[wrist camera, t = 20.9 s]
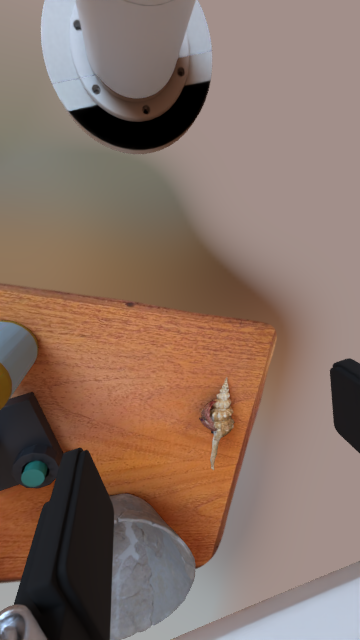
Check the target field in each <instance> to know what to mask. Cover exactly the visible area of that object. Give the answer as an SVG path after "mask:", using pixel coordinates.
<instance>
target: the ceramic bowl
mask: <svg viewBox="0 0 360 640" xmlns="http://www.w3.org/2000/svg"><path fill="white" fill-rule="evenodd" d="M109 497H110V499H111V501H112V504H113V508H114V537H113V566H112V595H111V624H110V640H121V639H124V638H127V637H130V636H131V635H134V634H135V633H137V632H142V631H145V630H146V629H148V628H150V627H151V625H156V624H157V623H159V622H161V621H162V620H164V619H165V618H167V617H168V616H169V615H170V614H172V613H173V612H174V611H175V610H176V609H177V608H178V606H180V604H181V603H182V602H183V601H184V600H185V598H186V596H187V594H188V592H189V591H190V588H191V586H192V583H193V581H194V577H195V565H196V564H195V559H194V557H193V555H192V553H191V551H190V549H189V548H188V546H187V545H186V544H185V543H184V541H183V540H182V539H181V538H180V537H179V536H178V535H177V534H176V533H175V531H174V530H173V529H172V528H171V527H169V526H168V525H167V524H166V523H165V522H164V520H163V519H162V518H161V517H160V516H159V515H158V513H157V512H156V511H155V510H154V508H153V507H152V506H151V505H149V504H148V503H147V502H146V501H144V500H143V499H141V498H139V497H137V496H134V495H132V494H128V493H127V494H118V495H113V496H112V495H111V496H109Z"/></svg>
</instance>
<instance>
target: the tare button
mask: <svg viewBox="0 0 360 640" xmlns="http://www.w3.org/2000/svg"><path fill="white" fill-rule="evenodd" d="M46 473H47V465H46V464H45V463H44V462H42V461H32V462H30V463H28V464H27V465H26V467H25V469H24V471H23V474H22V476H21V481H22V483H23V484H24V485H26V486H29V487H36V486H39V485H40V484H42V483H43V481H44V479H45V476H46Z"/></svg>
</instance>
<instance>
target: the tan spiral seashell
mask: <svg viewBox="0 0 360 640" xmlns="http://www.w3.org/2000/svg"><path fill="white" fill-rule="evenodd" d="M229 397H230V394H229V388H228V381H227V378H226V380H225V382H224V383H223V386H222V389H220V393H219V394H217V399H216V400H212V402H210V403H207V404H206V406H205V407H204V408H203V410H202V412H201V414H202V419H201V418H199V419H200V420H201V422H202V423H203V425H204V426H206V427H207V428H208V429H210V430H211V433H213V434H214V436H213V440H212V452H211V459H210V462H211V468H212V469H213V470H214V461H215V458H216V455H217V449H218V444H219V440H220V438H222V437H224V436H225V435H227V434H228V433H229V432H230V431H231V429H232V428H233V427H234V426H233V424H234V420H233V419H232V417H231V415H232V413H233V410H232V409H231V406H230V404H231V400H230V398H229ZM212 406H214V408H212Z"/></svg>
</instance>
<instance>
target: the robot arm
mask: <svg viewBox="0 0 360 640" xmlns="http://www.w3.org/2000/svg"><path fill="white" fill-rule="evenodd" d="M75 1H76V3H75V5H74V8H73V12H72V15H71V19H70V28H69V42H70V51H71V55H72V60H73V63H74V67H75V70H76V73H77V75H78V77H79V79H80V81H81V83H82V85H83V87H84V88H85V90H86V91H87V93H88V94H89V96H90V97H91V98H92V99H93V100H94V101H95V102H96V103H97V104H98V105H99V106H100V107H101V108H103V109H104V110H105V111H106V112H108V113H109V114H111V115H113V116H115V117H117V118H120V119H123V120H127V121H135V122H142V121H148V120H151V119H154V118H156V117H159V116H160V115H162V114H163V113H165V112H166V111H168V110H169V108H170V107H171V106H172V105H173V104H174V103H175V102H176V100H177V98H178V97H179V95H180V94H181V91H182V89H183V87H184V84H185V81H186V78H187V75H188V68H189V60H190V57H189V43H188V37H187V32H186V30H187V27H188V24H189V20H190V17H191V14H192V11H193V8H194V4H195V1H196V0H75ZM77 29H81V30H80V31H77ZM178 73H179V74H181V76H179V75H178ZM95 91H98V92H99V94H95ZM145 110H146V111H147V112H148V114H144V111H145ZM330 377H331V391H332V404H333V416H334V417H333V418H334V426H335V428H336V430H337V432H338V433H339V434H340V435H341V436H342V437H343V438H344V439H345V440H346V441H347V442H348V443H349V444H351V445H352V447H354V448H355V449H356V450H357V451H358V452H359V453H360V364H359V363H358V362H356V361H354V360H352V359H345V360H342V361H339V362H336V363H334V364H333V368H331V370H330ZM113 537H114V508H113V504H112V501H111V499H110V497H109V495H108V493H107V490H106V488H105V486H104V484H103V482H102V479H101V477H100V475H99V473H98V471H97V468H96V466H95V464H94V462H93V460H92V457H91V455H90V453H89V451H88V450H85V451H83V449H82V448H77V449H74V450H71V451H68V452H65V453H64V454H63V456H62V459H61V462H60V466H59V470H58V473H57V477H56V481H55V484H54V488H53V492H52V495H51V499H50V501H49V502H46V503H45V505H44V506H43V508H42V511H41V514H40V518H39V521H38V524H37V528H36V531H35V535H34V538H33V541H32V545H31V548H30V552H29V555H28V558H27V562H26V565H25V568H24V572H23V575H22V579H21V582H20V585H19V589H18V592H17V596H16V599H15V602H14V605H13V606H9V607H7V608H5V609H4V610H2V611H1V612H0V640H110V624H111V595H112V566H113ZM171 640H360V561H359V562H356V563H354V564H351V565H349V566H346V567H344V568H341V569H339V570H337V571H334V572H332V573H329V574H327V575H324V576H322V577H320V578H317V579H315V580H312V581H310V582H308V583H305V584H303V585H300V586H298V587H295V588H293V589H291V590H288V591H286V592H283V593H281V594H278V595H276V596H273V597H271V598H269V599H266V600H264V601H261V602H259V603H257V604H254V605H252V606H249V607H247V608H245V609H242V610H240V611H238V612H235V613H233V614H230V615H228V616H226V617H223V618H221V619H219V620H216V621H214V622H211V623H209V624H207V625H205V626H202V627H199V628H197V629H195V630H192V631H190V632H188V633H185V634H183V635H180V636H178V637H176V638H173V639H171Z"/></svg>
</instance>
